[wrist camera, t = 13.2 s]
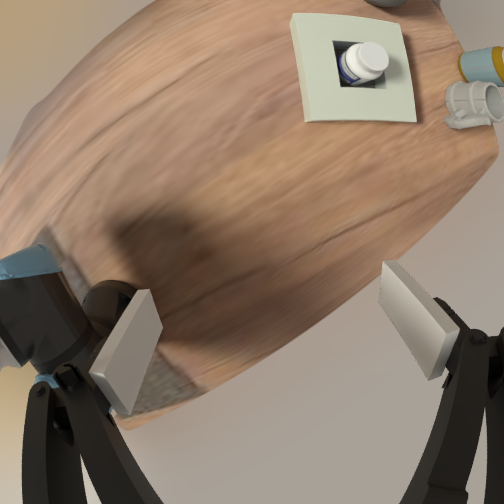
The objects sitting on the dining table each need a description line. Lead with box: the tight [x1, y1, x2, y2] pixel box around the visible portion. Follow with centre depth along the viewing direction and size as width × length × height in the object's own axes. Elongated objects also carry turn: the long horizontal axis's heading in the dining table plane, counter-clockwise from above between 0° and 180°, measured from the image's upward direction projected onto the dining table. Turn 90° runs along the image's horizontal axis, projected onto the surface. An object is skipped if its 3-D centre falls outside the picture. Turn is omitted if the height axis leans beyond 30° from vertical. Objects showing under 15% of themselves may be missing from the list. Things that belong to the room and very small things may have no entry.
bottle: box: [458, 46, 504, 87], centre depth 22 cm, size 7×7×15 cm
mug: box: [443, 81, 504, 129], centre depth 27 cm, size 8×12×12 cm, turn 135°
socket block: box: [290, 13, 417, 123], centre depth 30 cm, size 16×16×4 cm
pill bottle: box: [336, 42, 389, 86], centre depth 28 cm, size 5×5×9 cm
